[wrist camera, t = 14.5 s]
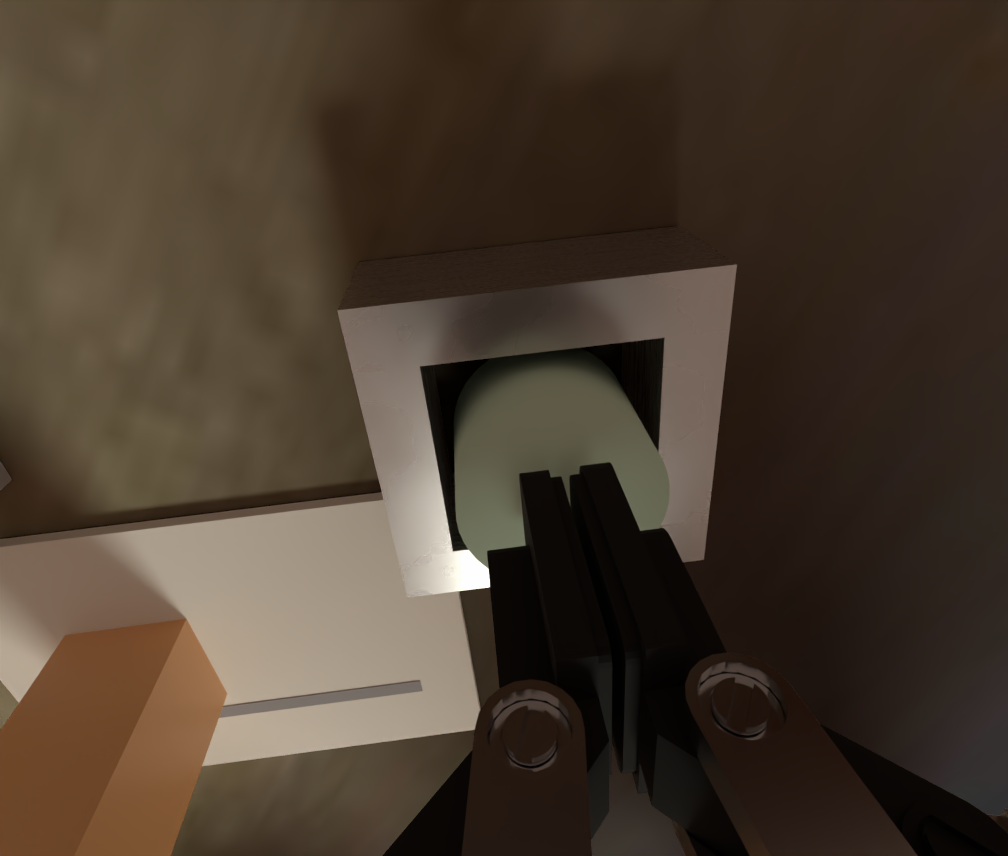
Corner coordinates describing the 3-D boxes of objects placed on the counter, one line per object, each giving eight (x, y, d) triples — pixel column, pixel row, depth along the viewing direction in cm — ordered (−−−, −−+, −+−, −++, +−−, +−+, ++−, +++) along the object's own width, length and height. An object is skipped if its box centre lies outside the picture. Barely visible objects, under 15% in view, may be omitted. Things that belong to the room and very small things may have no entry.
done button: (627, 331, 14) (675, 401, 11) (624, 481, 16) (664, 572, 13) (441, 352, 14) (440, 429, 11) (464, 501, 16) (469, 597, 13)
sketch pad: (440, 484, 18) (440, 493, 18) (482, 719, 25) (483, 729, 24) (-90, 550, 18) (-101, 560, 18) (89, 771, 24) (83, 782, 24)
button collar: (678, 226, 15) (736, 264, 12) (663, 483, 19) (703, 559, 16) (359, 261, 15) (337, 310, 12) (413, 514, 19) (407, 597, 16)
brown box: (187, 617, 20) (-32, 1080, 11) (229, 694, 22) (75, 1135, 13) (62, 634, 20) (-266, 1116, 11) (116, 709, 22) (-119, 1165, 13)
